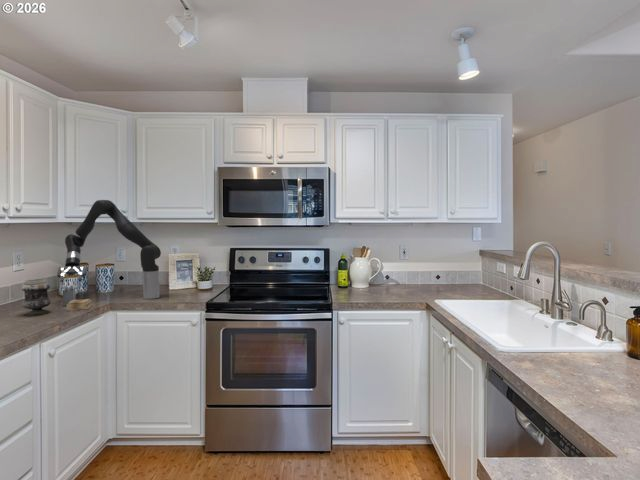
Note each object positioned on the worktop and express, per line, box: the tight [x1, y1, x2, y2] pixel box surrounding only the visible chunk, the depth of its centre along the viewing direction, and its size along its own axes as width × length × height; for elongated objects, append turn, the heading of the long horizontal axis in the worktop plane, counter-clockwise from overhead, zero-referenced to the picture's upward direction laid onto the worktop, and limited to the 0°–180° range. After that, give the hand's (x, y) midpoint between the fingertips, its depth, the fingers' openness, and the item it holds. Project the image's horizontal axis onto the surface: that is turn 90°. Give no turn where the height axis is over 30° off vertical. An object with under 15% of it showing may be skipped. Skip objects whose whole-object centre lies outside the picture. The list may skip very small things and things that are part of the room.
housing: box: [61, 285, 77, 307], centre depth 210 cm, size 6×6×11 cm
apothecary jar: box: [21, 278, 52, 317], centre depth 191 cm, size 12×12×18 cm
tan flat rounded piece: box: [65, 298, 93, 312], centre depth 203 cm, size 10×10×4 cm
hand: (71, 281), depth 217 cm, fingers open, 8 cm apart
